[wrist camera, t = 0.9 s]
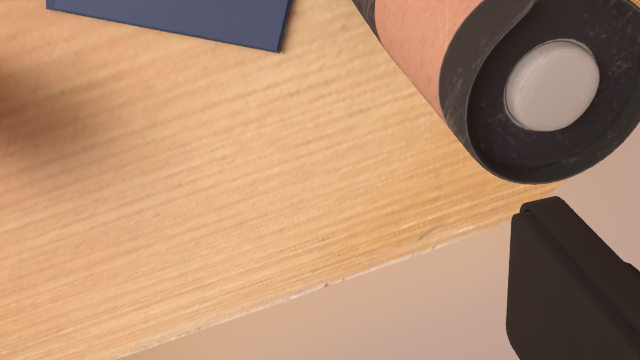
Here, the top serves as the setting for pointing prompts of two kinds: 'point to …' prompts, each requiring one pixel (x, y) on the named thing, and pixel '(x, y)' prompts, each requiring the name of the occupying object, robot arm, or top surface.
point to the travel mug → (521, 76)
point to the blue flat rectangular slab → (195, 18)
